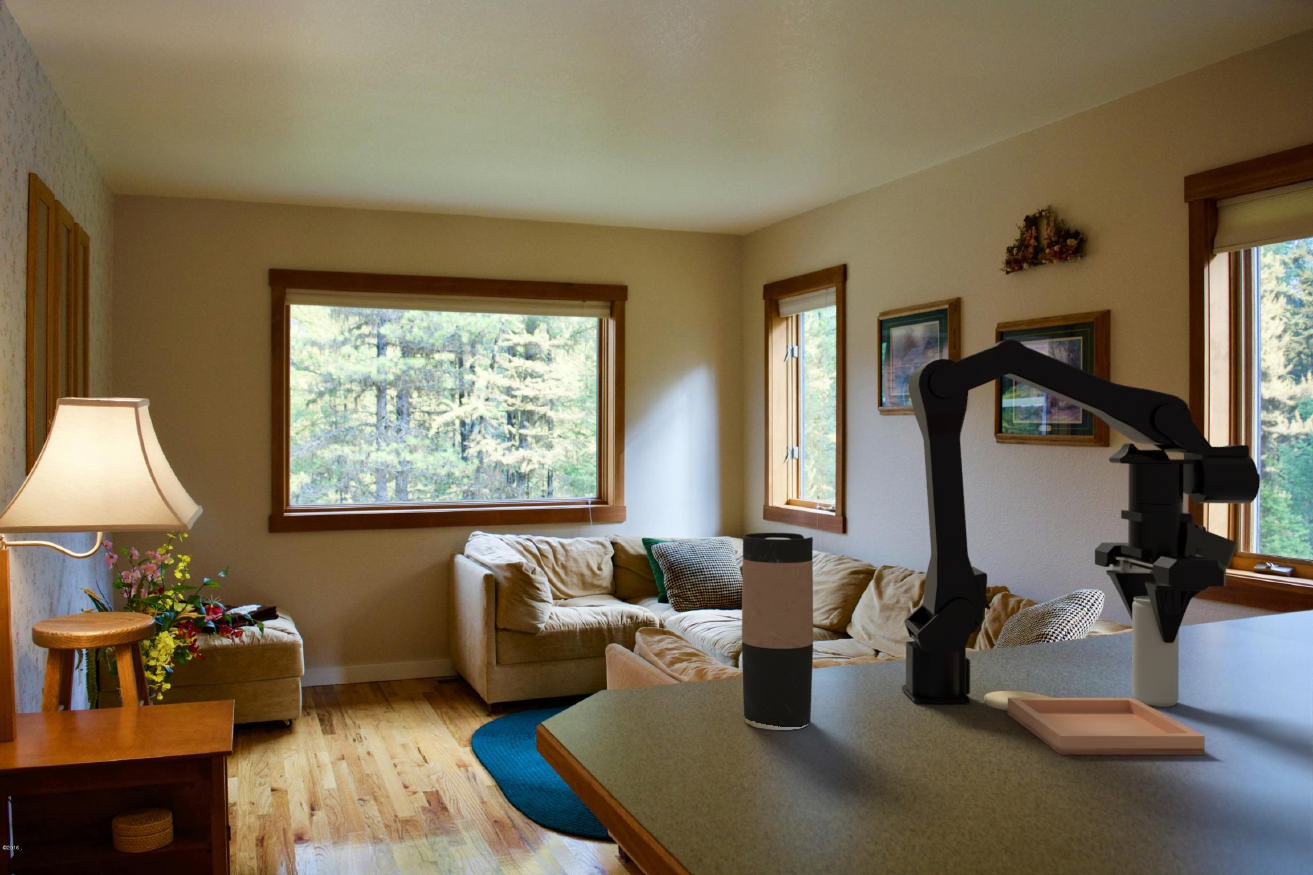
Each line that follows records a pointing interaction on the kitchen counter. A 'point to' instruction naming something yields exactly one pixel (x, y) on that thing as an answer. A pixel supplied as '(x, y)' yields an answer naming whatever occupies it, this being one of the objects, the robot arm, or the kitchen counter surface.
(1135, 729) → the tray
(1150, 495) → the robot arm
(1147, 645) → the beverage can
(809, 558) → the travel mug
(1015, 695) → the cork coaster
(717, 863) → the kitchen counter surface
